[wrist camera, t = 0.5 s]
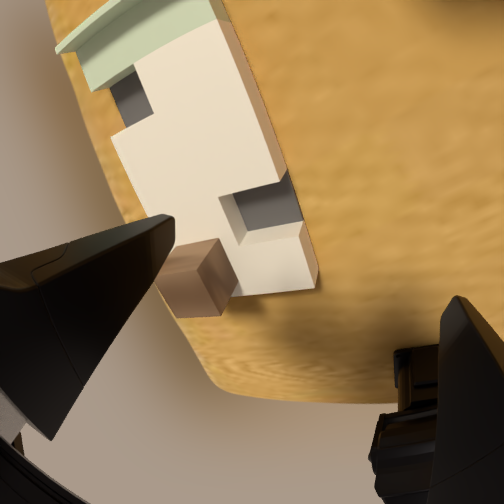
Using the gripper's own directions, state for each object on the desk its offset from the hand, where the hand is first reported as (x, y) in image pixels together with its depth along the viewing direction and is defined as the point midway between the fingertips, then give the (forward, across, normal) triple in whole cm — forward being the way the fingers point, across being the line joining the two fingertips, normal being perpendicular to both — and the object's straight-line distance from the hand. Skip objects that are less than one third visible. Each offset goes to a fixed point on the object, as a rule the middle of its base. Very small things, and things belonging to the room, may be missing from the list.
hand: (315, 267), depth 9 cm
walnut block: (+11, +8, +10) cm, 17 cm away
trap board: (+13, +10, +2) cm, 17 cm away
